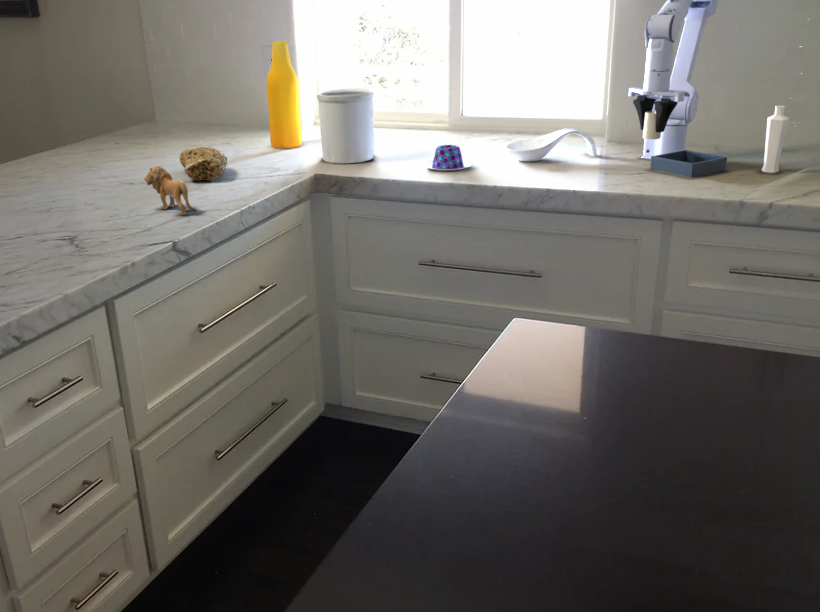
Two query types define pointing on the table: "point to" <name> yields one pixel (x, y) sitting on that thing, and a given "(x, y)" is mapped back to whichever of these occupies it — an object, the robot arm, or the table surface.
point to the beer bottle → (283, 99)
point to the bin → (688, 163)
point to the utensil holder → (346, 125)
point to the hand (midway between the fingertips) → (652, 130)
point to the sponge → (203, 163)
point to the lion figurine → (168, 188)
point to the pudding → (447, 159)
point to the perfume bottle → (774, 139)
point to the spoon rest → (545, 145)
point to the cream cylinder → (650, 126)
